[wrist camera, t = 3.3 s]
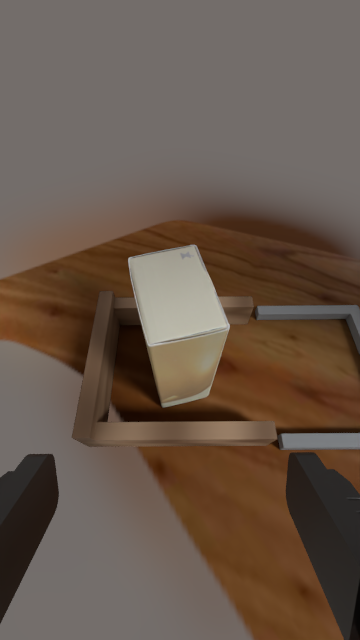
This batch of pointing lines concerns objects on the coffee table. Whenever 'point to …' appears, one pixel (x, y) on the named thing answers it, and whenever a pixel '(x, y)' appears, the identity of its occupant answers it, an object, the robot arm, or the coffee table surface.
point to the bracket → (356, 321)
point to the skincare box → (179, 321)
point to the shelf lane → (99, 432)
